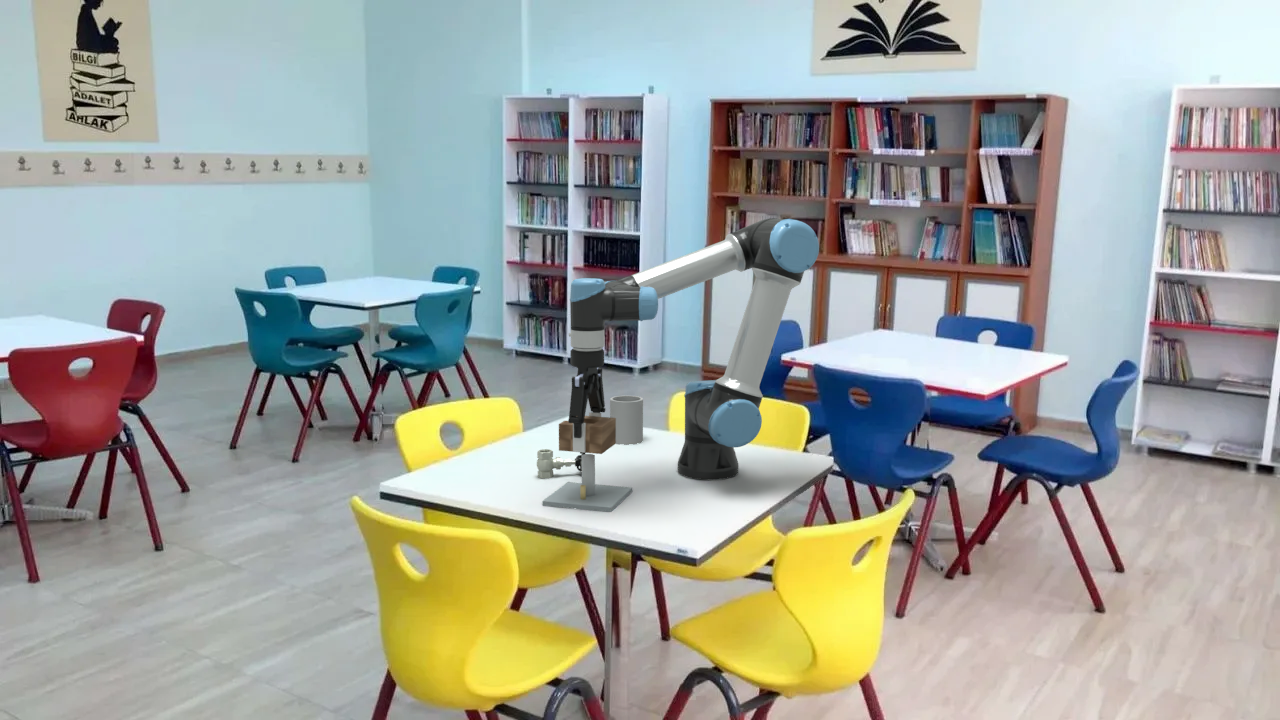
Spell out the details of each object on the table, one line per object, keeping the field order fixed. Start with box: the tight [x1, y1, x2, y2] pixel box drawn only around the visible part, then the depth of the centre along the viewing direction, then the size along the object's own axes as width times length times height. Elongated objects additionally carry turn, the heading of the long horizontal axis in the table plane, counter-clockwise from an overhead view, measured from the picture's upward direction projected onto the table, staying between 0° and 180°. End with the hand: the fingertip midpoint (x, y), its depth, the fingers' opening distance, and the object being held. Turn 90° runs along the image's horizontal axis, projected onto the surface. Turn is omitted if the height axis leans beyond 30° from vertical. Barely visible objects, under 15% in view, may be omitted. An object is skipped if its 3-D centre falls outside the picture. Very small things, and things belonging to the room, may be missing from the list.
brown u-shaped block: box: [558, 415, 617, 455], centre depth 232 cm, size 10×10×6 cm
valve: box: [536, 448, 586, 479], centre depth 252 cm, size 7×7×12 cm
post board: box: [541, 453, 634, 513], centre depth 234 cm, size 16×16×10 cm
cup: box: [609, 395, 644, 446], centre depth 287 cm, size 9×9×12 cm
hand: (587, 446), depth 232 cm, fingers closed on brown u-shaped block, 10 cm apart
